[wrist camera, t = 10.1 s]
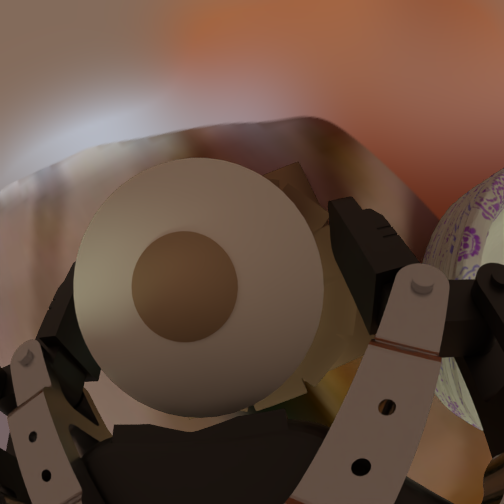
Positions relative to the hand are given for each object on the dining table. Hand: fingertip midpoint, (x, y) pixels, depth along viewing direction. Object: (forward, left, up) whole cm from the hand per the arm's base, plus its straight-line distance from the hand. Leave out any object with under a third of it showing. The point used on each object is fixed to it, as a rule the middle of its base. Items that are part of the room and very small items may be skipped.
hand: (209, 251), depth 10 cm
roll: (0, +1, -8) cm, 8 cm away
